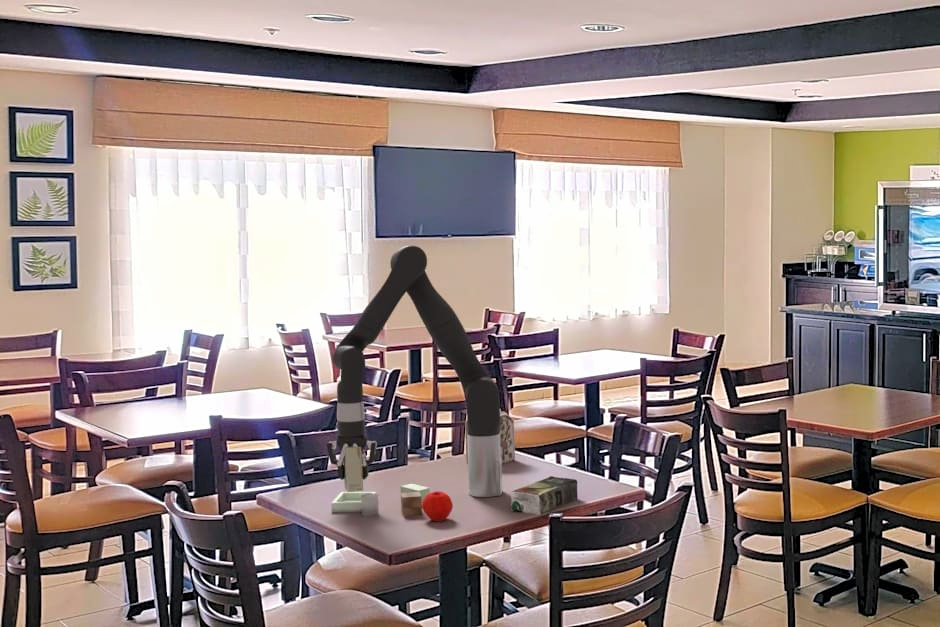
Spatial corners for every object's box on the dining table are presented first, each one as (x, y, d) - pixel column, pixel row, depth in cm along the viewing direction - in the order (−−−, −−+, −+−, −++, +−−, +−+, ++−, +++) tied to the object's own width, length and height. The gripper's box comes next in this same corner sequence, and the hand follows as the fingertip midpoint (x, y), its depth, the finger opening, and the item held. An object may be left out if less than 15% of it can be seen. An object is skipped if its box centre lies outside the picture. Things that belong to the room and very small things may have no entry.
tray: (376, 500, 296) (376, 491, 295) (368, 511, 284) (367, 502, 284) (341, 500, 297) (341, 492, 296) (331, 512, 285) (331, 502, 285)
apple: (424, 515, 278) (423, 488, 277) (454, 515, 277) (453, 487, 277) (420, 524, 270) (419, 495, 270) (451, 523, 269) (450, 495, 269)
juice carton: (538, 516, 274) (538, 493, 274) (508, 512, 280) (507, 489, 280) (579, 500, 290) (578, 478, 290) (549, 496, 296) (548, 475, 296)
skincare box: (363, 491, 288) (362, 447, 287) (347, 492, 286) (346, 448, 285) (359, 486, 294) (357, 442, 293) (344, 487, 292) (342, 444, 292)
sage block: (430, 502, 293) (429, 487, 292) (418, 504, 290) (418, 490, 290) (412, 497, 299) (411, 483, 298) (401, 500, 296) (400, 486, 296)
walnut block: (419, 510, 284) (419, 491, 284) (422, 514, 279) (421, 496, 279) (401, 511, 284) (400, 493, 283) (403, 516, 279) (402, 497, 278)
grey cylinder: (379, 511, 284) (379, 493, 283) (376, 516, 279) (376, 497, 279) (363, 511, 284) (363, 493, 284) (360, 516, 280) (359, 497, 279)
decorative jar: (465, 463, 341) (463, 407, 339) (487, 456, 350) (486, 402, 348) (494, 467, 333) (492, 410, 332) (516, 460, 342) (514, 405, 340)
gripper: (379, 415, 291) (381, 475, 293) (328, 416, 293) (330, 476, 294) (374, 420, 284) (376, 482, 285) (321, 420, 286) (324, 482, 287)
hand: (353, 478), depth 290 cm, fingers closed on skincare box, 5 cm apart
